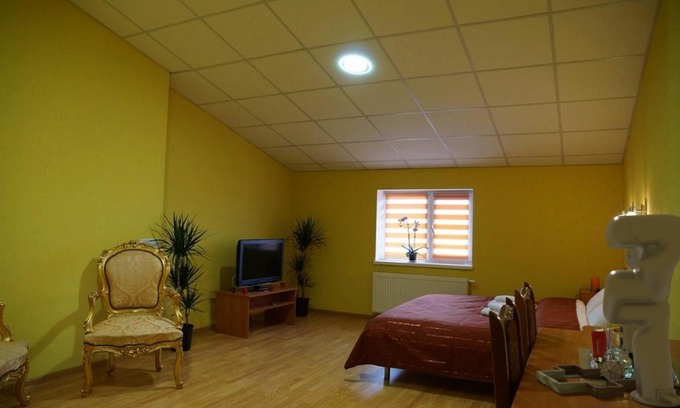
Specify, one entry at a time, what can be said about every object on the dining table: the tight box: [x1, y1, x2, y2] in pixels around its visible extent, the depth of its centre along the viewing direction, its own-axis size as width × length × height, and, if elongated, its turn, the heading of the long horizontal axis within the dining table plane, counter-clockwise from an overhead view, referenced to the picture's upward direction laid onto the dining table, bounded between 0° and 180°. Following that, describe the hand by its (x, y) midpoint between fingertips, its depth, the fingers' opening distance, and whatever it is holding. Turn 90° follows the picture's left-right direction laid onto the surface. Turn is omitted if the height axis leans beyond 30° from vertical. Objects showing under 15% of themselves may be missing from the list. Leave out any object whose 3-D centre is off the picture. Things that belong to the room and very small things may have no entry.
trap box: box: [535, 363, 636, 399], centre depth 156 cm, size 27×30×3 cm
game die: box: [597, 356, 629, 381], centre depth 157 cm, size 9×8×10 cm
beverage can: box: [590, 328, 608, 359], centre depth 185 cm, size 5×5×12 cm
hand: (638, 372), depth 158 cm, fingers closed
